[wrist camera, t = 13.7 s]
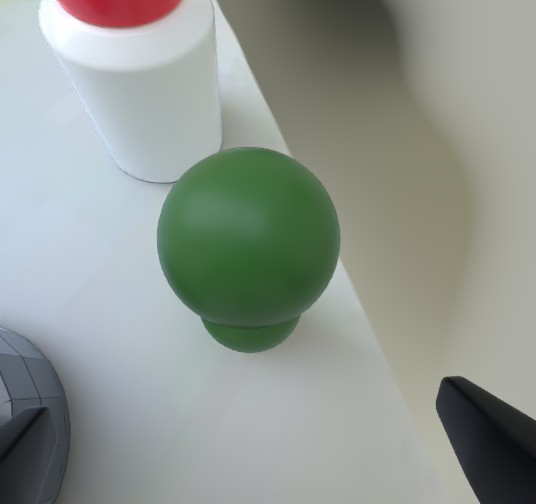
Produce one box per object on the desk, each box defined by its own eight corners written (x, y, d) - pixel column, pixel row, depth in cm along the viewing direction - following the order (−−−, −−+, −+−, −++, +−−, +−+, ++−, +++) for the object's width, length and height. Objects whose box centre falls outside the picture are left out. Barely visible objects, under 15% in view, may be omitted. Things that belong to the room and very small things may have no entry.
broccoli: (295, 365, 18) (391, 328, 7) (197, 370, 18) (118, 341, 6) (286, 257, 21) (347, 90, 9) (199, 259, 20) (143, 86, 8)
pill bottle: (239, 163, 23) (239, -17, 13) (123, 198, 21) (16, 25, 11) (201, 81, 25) (175, -126, 15) (94, 107, 24) (-16, -105, 13)
